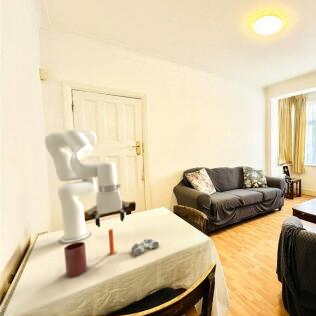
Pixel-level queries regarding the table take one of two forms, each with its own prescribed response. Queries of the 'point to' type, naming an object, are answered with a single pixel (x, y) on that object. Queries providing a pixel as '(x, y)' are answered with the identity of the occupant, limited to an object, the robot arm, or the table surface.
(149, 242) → the binoculars
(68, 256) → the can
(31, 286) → the table surface
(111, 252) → the solid orange cylinder
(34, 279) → the table surface
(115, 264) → the table surface
